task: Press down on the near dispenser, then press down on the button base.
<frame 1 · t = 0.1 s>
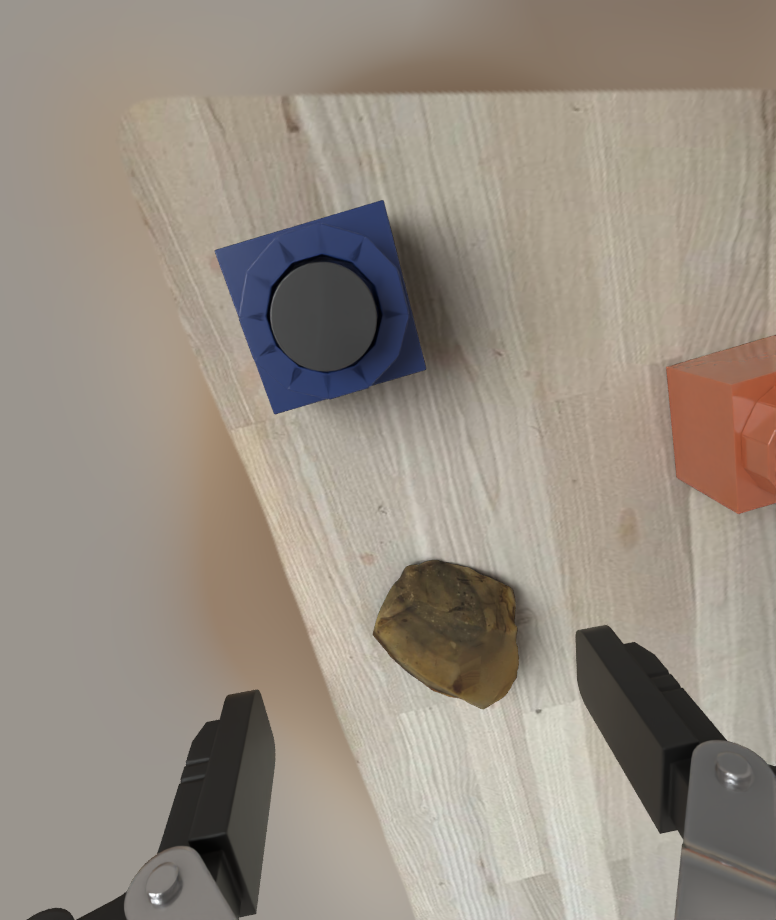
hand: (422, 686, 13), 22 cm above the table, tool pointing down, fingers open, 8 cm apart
decorative stone: (445, 617, 39), on the table
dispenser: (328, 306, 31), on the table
button base: (728, 407, 35), on the table
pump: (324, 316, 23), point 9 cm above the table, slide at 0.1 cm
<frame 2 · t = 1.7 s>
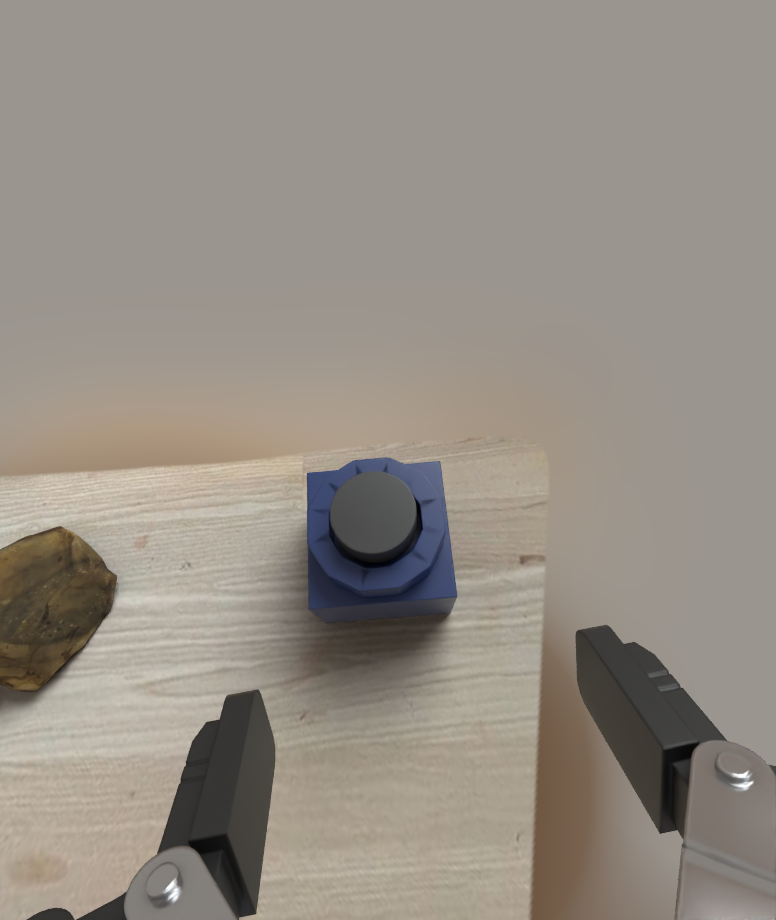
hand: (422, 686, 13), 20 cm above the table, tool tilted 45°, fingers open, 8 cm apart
decorative stone: (37, 610, 35), on the table
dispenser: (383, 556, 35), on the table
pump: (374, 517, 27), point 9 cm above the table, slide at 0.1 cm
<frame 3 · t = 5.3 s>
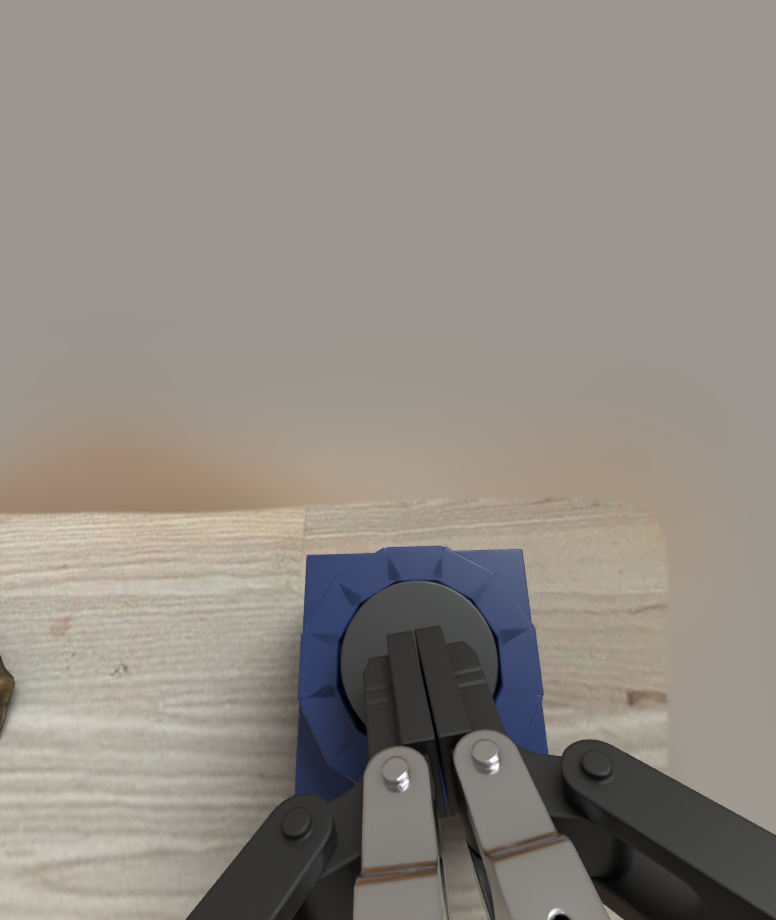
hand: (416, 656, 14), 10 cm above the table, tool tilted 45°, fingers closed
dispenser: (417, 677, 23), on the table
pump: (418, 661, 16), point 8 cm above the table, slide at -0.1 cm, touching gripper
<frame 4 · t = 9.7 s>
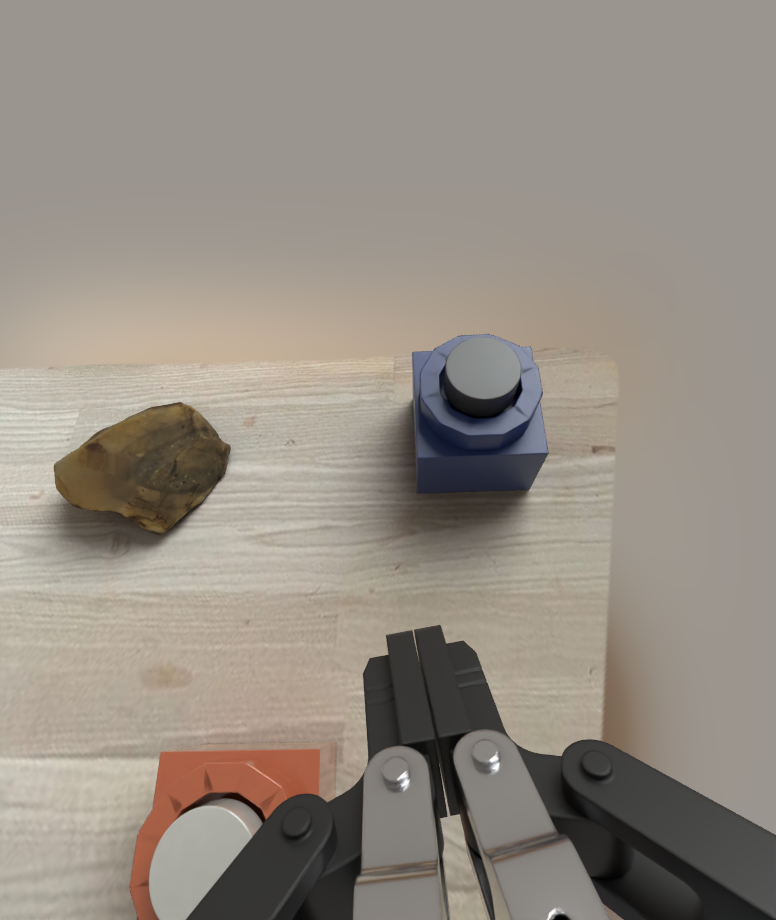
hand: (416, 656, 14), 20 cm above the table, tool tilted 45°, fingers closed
decorative stone: (158, 473, 40), on the table
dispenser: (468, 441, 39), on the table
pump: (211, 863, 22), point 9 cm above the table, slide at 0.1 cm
button base: (264, 822, 30), on the table
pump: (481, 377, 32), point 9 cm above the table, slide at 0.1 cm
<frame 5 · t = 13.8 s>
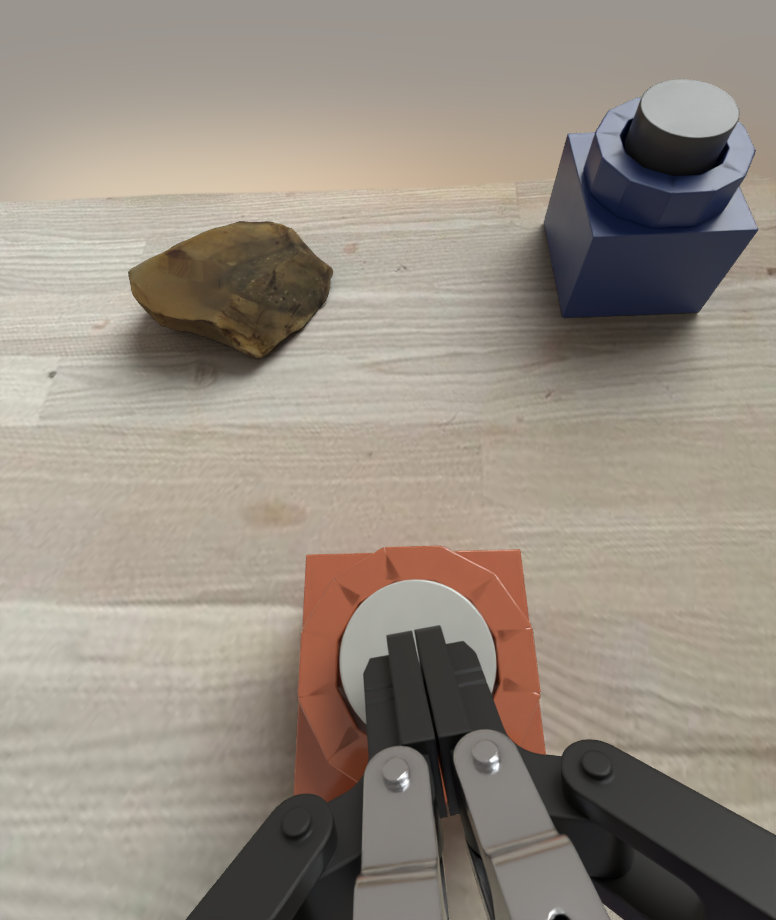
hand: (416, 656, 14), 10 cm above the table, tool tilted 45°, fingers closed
decorative stone: (245, 302, 33), on the table
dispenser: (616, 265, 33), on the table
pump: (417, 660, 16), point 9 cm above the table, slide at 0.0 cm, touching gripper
button base: (415, 676, 23), on the table
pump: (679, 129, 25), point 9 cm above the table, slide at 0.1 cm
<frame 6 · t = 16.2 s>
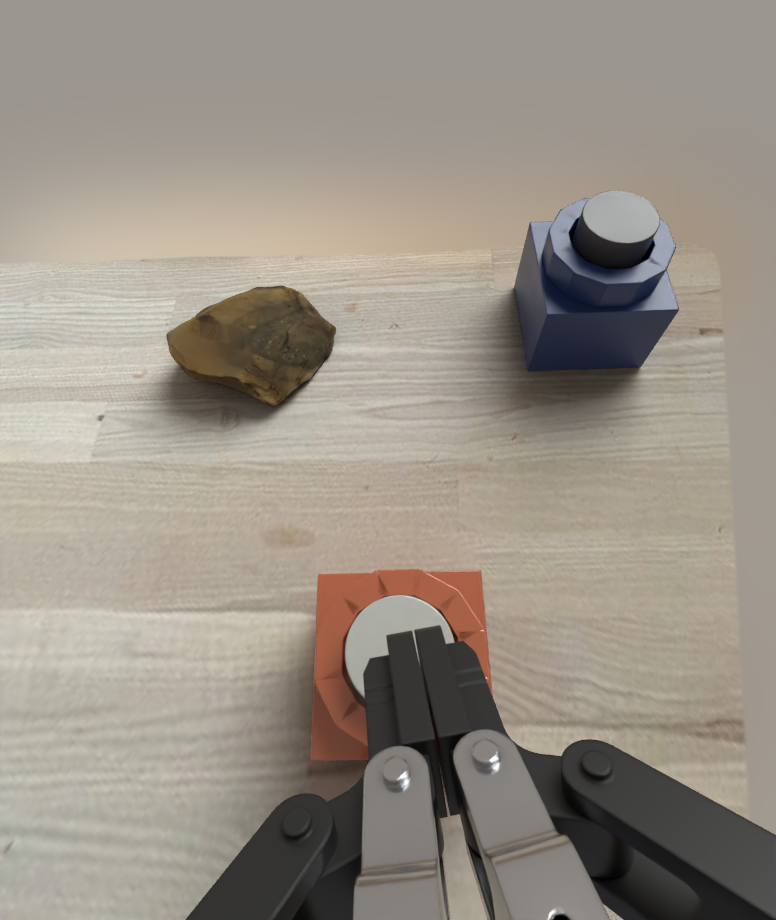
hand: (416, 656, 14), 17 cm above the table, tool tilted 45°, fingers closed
decorative stone: (261, 354, 39), on the table
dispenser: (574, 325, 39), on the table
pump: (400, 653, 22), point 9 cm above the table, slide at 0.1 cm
button base: (402, 668, 30), on the table
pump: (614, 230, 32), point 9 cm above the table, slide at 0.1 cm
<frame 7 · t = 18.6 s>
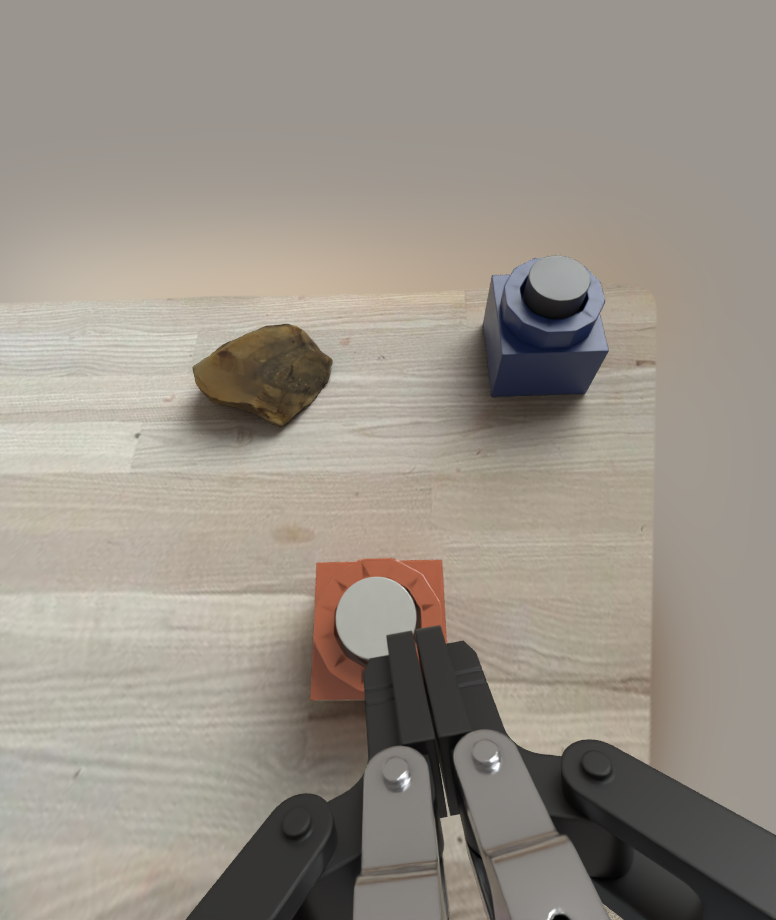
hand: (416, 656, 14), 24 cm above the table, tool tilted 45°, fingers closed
decorative stone: (270, 382, 47), on the table
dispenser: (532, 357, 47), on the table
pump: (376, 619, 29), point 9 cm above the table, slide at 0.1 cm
button base: (384, 638, 37), on the table
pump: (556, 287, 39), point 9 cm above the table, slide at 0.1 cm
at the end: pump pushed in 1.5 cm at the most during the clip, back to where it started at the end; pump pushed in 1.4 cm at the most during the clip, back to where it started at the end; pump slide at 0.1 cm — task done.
